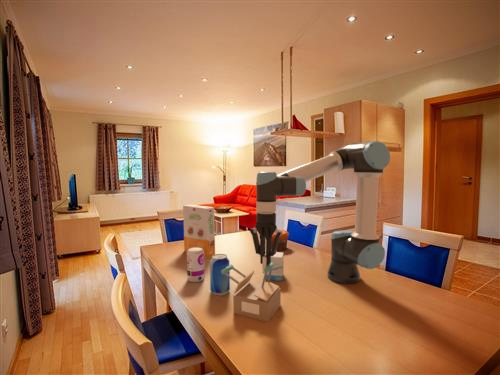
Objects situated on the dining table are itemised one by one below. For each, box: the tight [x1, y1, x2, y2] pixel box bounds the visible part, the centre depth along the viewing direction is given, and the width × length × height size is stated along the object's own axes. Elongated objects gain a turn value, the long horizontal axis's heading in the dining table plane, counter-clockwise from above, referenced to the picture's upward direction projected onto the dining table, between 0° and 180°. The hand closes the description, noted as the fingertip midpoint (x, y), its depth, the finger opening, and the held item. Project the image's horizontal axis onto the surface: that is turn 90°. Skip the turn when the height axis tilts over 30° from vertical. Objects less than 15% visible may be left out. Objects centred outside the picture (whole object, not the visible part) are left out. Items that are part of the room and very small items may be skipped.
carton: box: [232, 281, 282, 323], centre depth 108 cm, size 14×13×7 cm
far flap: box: [221, 264, 255, 295], centre depth 111 cm, size 6×14×8 cm
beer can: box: [209, 253, 231, 296], centre depth 123 cm, size 8×8×16 cm
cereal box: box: [182, 204, 216, 259], centre depth 178 cm, size 22×6×30 cm, turn 50°
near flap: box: [254, 263, 280, 302], centre depth 106 cm, size 6×14×8 cm, turn 155°
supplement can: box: [186, 247, 205, 283], centre depth 137 cm, size 8×8×15 cm
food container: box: [271, 229, 290, 251], centre depth 189 cm, size 16×16×11 cm
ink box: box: [265, 251, 285, 282], centre depth 139 cm, size 8×8×12 cm
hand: (265, 272), depth 109 cm, fingers closed
